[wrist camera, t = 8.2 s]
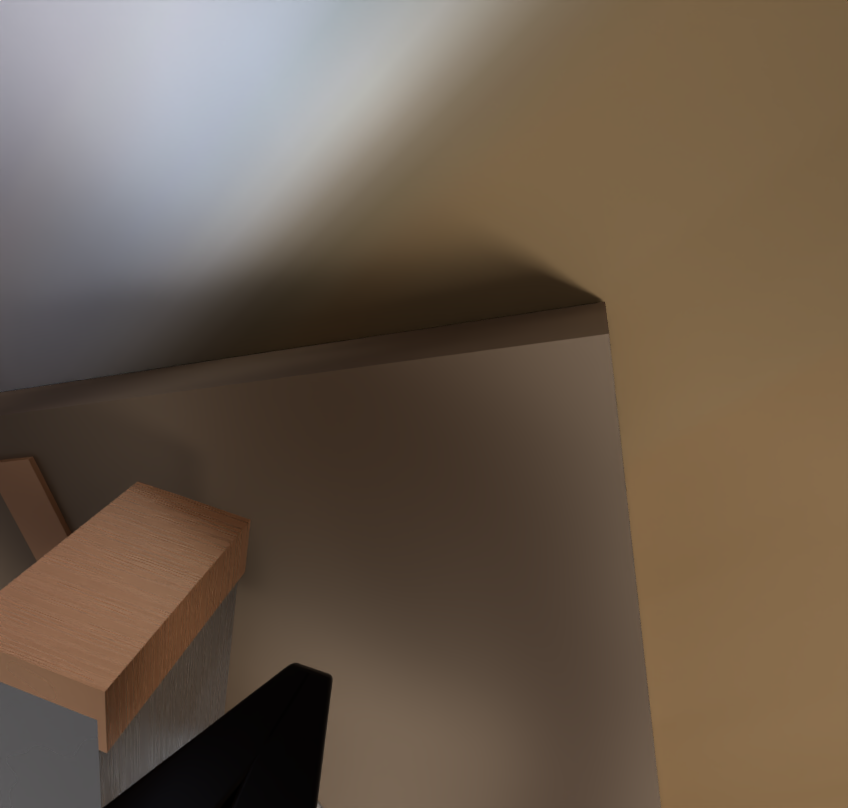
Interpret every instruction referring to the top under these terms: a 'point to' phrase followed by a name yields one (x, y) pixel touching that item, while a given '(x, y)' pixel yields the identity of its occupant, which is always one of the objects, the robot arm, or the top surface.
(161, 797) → the robot arm
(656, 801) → the lock board
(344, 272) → the top surface
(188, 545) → the lock knob
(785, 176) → the top surface
